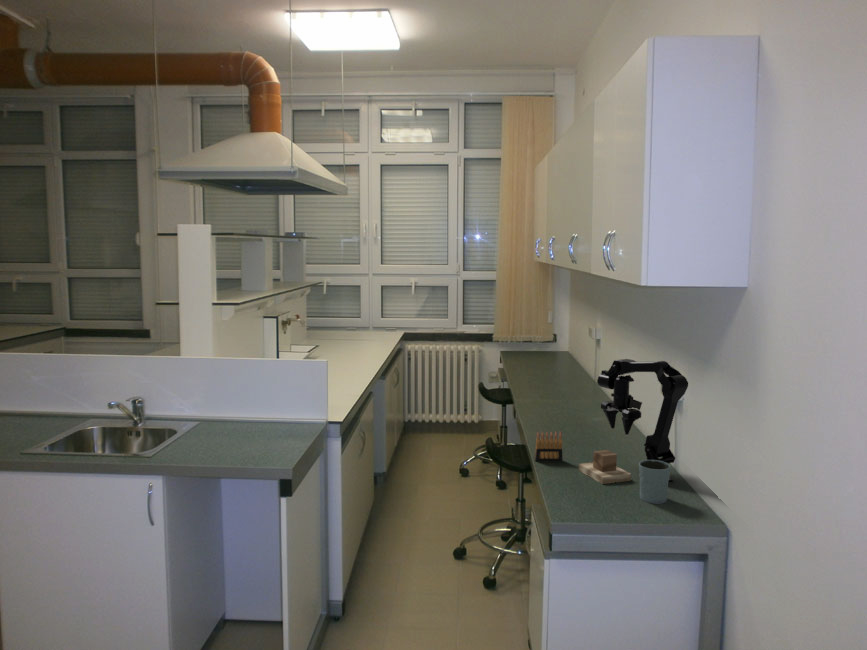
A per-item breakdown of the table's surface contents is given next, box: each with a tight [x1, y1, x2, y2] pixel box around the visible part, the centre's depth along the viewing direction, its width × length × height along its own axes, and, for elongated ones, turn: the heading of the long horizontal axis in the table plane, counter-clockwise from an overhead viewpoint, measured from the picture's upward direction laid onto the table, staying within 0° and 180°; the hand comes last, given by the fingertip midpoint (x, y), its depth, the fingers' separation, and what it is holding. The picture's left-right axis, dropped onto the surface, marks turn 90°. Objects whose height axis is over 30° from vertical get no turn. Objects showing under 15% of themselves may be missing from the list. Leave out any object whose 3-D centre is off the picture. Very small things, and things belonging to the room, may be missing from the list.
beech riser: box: [578, 461, 632, 485], centre depth 249 cm, size 16×12×2 cm
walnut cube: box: [592, 449, 618, 472], centre depth 249 cm, size 6×6×6 cm
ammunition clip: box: [534, 430, 563, 463], centre depth 266 cm, size 11×2×12 cm, turn 92°
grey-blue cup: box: [638, 459, 672, 505], centre depth 225 cm, size 10×10×12 cm
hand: (619, 431), depth 262 cm, fingers open, 9 cm apart
